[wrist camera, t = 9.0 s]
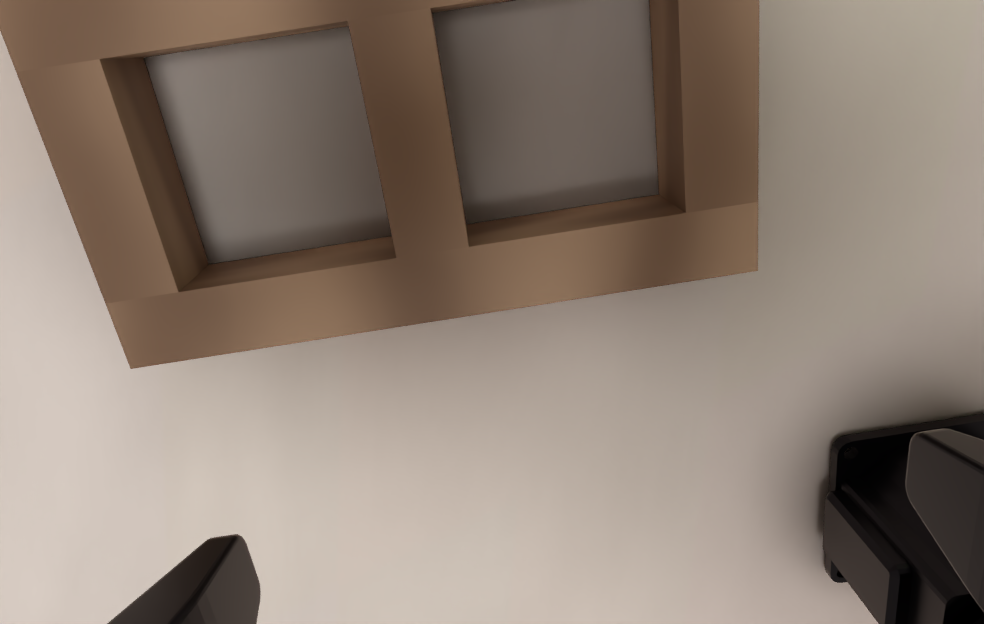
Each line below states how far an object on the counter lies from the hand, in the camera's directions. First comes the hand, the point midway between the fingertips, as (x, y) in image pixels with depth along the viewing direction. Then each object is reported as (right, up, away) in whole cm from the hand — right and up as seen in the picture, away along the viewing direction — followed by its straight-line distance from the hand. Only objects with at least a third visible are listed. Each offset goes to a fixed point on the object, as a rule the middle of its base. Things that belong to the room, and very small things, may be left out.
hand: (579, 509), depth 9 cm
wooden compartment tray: (-3, +8, +11) cm, 14 cm away
